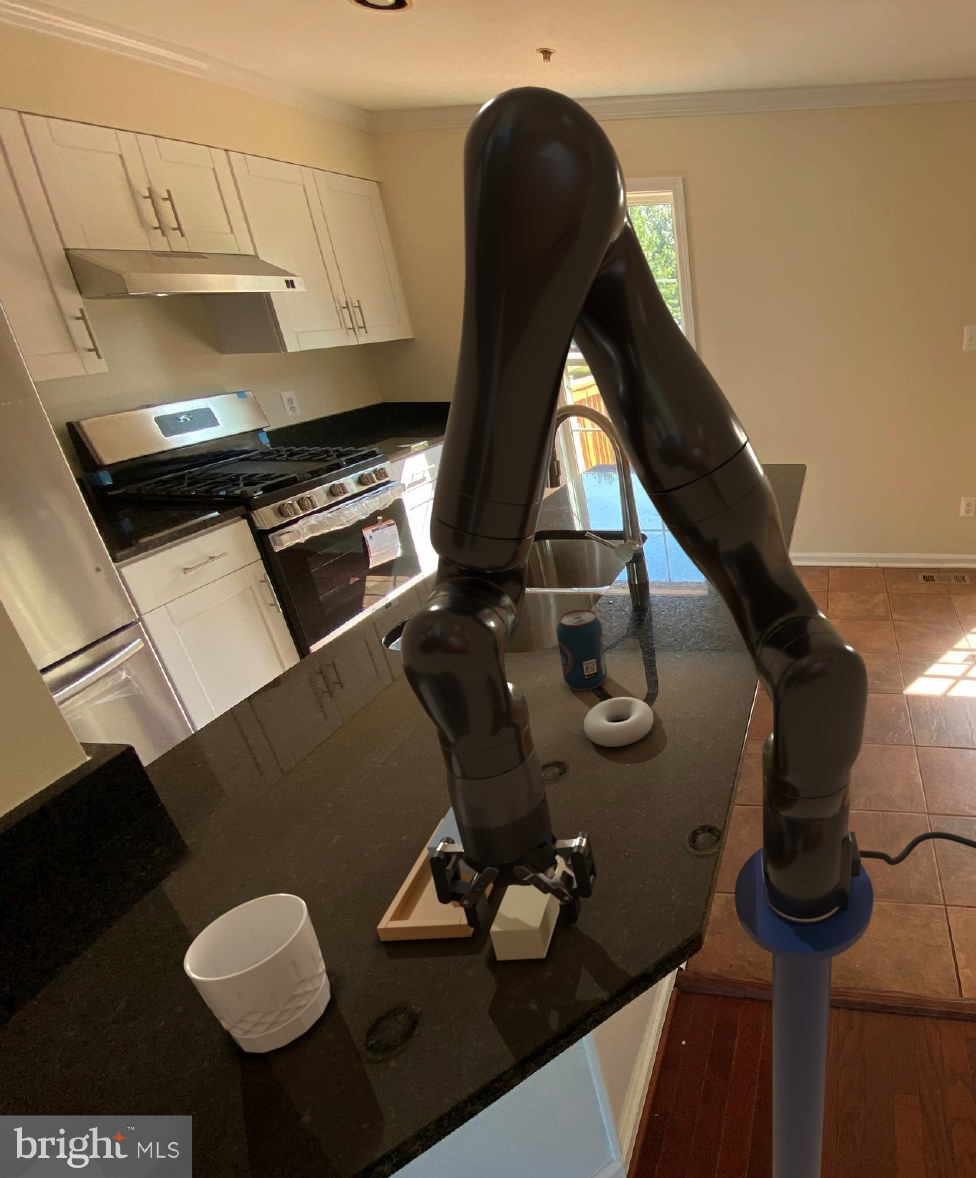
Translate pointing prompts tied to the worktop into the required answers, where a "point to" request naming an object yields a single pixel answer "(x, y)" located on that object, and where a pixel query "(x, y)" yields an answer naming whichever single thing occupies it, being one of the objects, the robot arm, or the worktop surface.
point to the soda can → (581, 649)
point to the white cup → (261, 971)
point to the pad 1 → (448, 830)
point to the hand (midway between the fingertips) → (527, 923)
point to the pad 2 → (524, 923)
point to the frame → (424, 908)
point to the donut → (622, 732)
